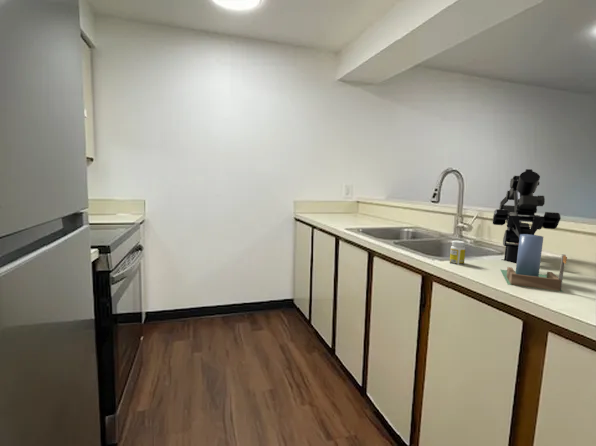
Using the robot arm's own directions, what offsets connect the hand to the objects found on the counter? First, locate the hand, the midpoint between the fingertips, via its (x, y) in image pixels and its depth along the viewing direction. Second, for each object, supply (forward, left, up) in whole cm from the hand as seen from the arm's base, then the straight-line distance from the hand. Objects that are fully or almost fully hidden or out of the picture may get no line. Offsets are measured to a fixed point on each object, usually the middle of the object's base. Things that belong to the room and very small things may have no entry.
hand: (526, 238), depth 113 cm
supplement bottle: (-15, -13, -12) cm, 23 cm away
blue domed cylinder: (+6, -6, -11) cm, 14 cm away
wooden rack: (+12, -12, -11) cm, 20 cm away
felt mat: (+8, -8, -12) cm, 16 cm away
